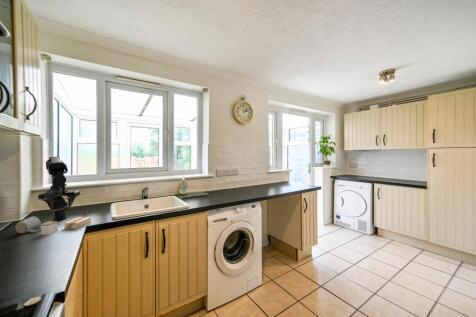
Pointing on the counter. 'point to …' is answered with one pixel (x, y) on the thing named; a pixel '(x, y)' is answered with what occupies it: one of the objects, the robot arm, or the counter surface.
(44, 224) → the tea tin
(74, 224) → the oak block
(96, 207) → the counter surface
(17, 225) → the ceramic mug
